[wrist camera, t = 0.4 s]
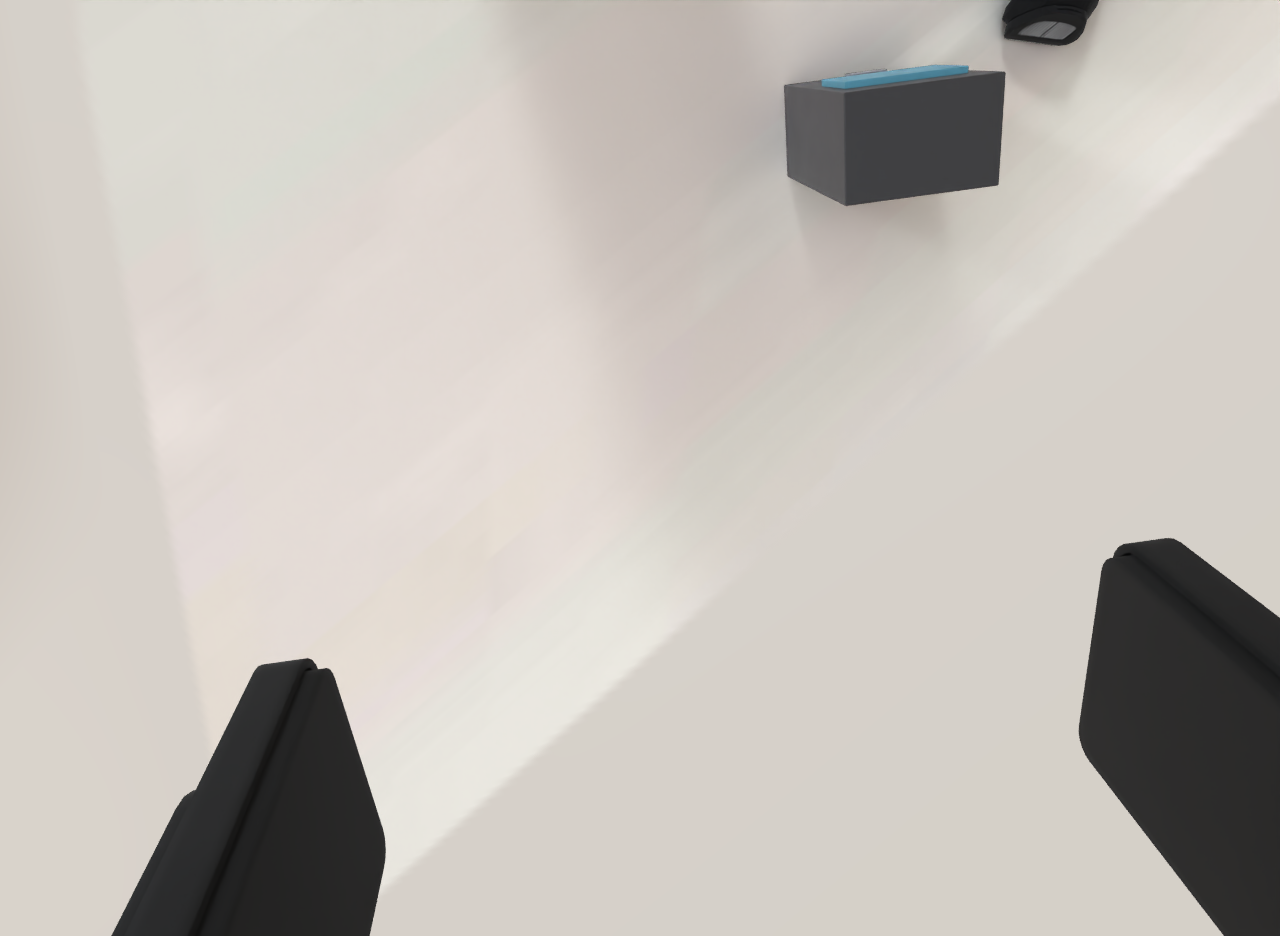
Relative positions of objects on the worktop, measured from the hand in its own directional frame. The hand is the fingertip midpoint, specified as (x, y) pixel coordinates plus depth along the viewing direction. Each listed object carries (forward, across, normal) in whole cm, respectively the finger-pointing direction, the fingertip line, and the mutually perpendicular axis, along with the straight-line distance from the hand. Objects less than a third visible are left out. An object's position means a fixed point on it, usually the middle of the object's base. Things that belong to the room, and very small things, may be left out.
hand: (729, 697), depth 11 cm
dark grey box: (+34, -12, -3) cm, 36 cm away
